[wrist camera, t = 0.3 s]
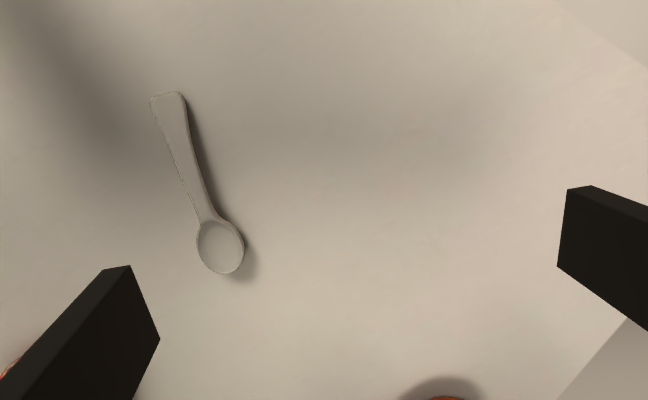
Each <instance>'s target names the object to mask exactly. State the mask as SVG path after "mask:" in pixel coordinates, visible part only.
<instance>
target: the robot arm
mask: <svg viewBox="0 0 648 400" xmlns="http://www.w3.org/2000/svg"><path fill="white" fill-rule="evenodd" d="M557 267H558V268H560V269H561V270H563V271H564V272H565V273H567V274H568V275H570V276H571V277H572V278H574V279H575V280H576V281H578V282H579V283H581V284H582V285H583V286H585V287H586V288H588V289H589V290H590V291H592V292H593V293H595V294H596V295H597V296H599V297H600V298H602V299H603V300H604V301H606V302H607V303H609V304H610V305H611V306H613V307H614V308H616V309H617V310H618V311H620V312H621V313H623V314H624V315H625V316H627V317H628V318H630V319H631V320H632V321H634V322H635V323H637V324H638V325H639V326H641V327H642V328H644V329H645V330H646V331H648V206H646V205H643V204H640V203H638V202H635V201H632V200H630V199H627V198H624V197H621V196H619V195H616V194H613V193H611V192H608V191H605V190H603V189H600V188H597V187H594V186H592V185H590V186H584V187H578V188H572V189H567V194H566V202H565V209H564V217H563V224H562V231H561V239H560V246H559V254H558V261H557ZM159 341H160V337H159V334H158V332H157V329H156V327H155V325H154V322H153V320H152V317H151V315H150V312H149V310H148V307H147V305H146V302H145V300H144V298H143V295H142V293H141V290H140V288H139V285H138V283H137V280H136V278H135V276H134V273H133V271H132V268H131V266H130V265H127V266H121V267H115V268H109V269H104V270H102V271H101V272H100V273H99V274H98V275H97V277H96V278H95V279H94V280H93V281H92V282H91V283H90V284H89V285H88V286H87V287H86V288H85V289H84V290H83V292H82V293H81V294H80V295H79V296H78V297H77V298H76V299H75V300H74V301H73V302H72V303H71V304H70V305H69V307H68V308H67V309H66V310H65V311H64V312H63V313H62V314H61V315H60V316H59V317H58V318H57V319H56V320H55V322H54V323H53V324H52V325H51V326H50V327H49V328H48V329H47V330H46V331H45V332H44V333H43V334H42V336H41V337H40V338H39V339H38V340H37V341H36V342H35V343H34V344H33V345H32V346H31V347H30V348H29V349H28V351H27V352H26V353H25V354H24V355H23V356H22V357H21V358H20V359H19V360H18V361H17V362H16V363H15V364H14V366H13V367H12V368H11V369H10V370H9V371H8V372H7V373H6V374H5V375H4V376H3V377H2V378H1V380H0V400H132V399H133V397H134V394H135V392H136V390H137V388H138V386H139V384H140V382H141V380H142V377H143V375H144V373H145V371H146V369H147V367H148V365H149V363H150V361H151V358H152V356H153V354H154V352H155V350H156V348H157V346H158V344H159Z"/></svg>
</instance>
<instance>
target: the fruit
mask: <svg viewBox="0 0 648 400" xmlns="http://www.w3.org/2000/svg"><path fill="white" fill-rule="evenodd" d="M429 400H464V399H459V398H452V397H436V398H432V399H429Z"/></svg>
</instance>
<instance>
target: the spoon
mask: <svg viewBox="0 0 648 400" xmlns="http://www.w3.org/2000/svg"><path fill="white" fill-rule="evenodd" d="M150 107H151V111H152V113H153V115H154V118H155V120H156V122H157V124H158V126H159V128H160V130H161V132H162V134H163V136H164V138H165V140H166V142H167V145H168V147H169V149H170V152H171V155H172V157H173V160H174V162H175V165H176V167H177V170H178V172H179V175H180V177H181V180H182V182H183V184H184V186H185V188H186V191H187V193H188V195H189V197H190V199H191V201H192V203H193V206H194V208H195V210H196V212H197V215H198V217H199V221H200V228H199V231H198V234H197V250H198V253H199V256H200V258H201V260H202V261H203V263H204V264H205V265H206V266H207V267H208V268H209V269H211V270H212V271H214V272H216V273H219V274H230V273H233V272H235V271H236V270H237V269H238V268H239V267H240V266H241V264H242V262H243V259H244V254H245V248H244V243H243V239H242V237H241V235H240V233H239V232H238V230H237V229H236V228H235V227H234V226H233V225H232V224H231V223H229V222H227V221H226V220H223V219H222V218H221V217H220V216H219V215H218V214H217V213H216V211H215V210H214V207H213V205H212V203H211V201H210V198H209V195H208V193H207V190H206V187H205V184H204V181H203V178H202V175H201V172H200V169H199V166H198V163H197V159H196V156H195V153H194V149H193V145H192V140H191V136H190V130H189V124H188V117H187V111H186V105H185V101H184V98H183V96H182V95H181V94H180V93H177V92H169V93H164V94H160V95H157V96H155V97H153V98H152V99H151V101H150Z"/></svg>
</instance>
